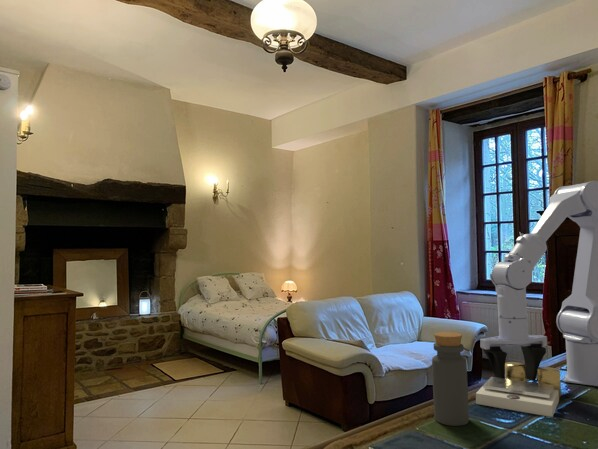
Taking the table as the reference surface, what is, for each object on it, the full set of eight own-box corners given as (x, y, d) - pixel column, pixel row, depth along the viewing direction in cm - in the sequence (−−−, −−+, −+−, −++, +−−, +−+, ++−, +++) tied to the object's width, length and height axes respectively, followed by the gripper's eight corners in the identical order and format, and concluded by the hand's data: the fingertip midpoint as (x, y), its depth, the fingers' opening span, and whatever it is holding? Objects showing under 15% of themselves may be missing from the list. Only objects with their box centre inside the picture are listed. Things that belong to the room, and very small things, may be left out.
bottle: (468, 415, 81) (464, 331, 82) (469, 427, 76) (465, 338, 77) (434, 412, 83) (431, 330, 84) (433, 424, 78) (430, 336, 79)
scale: (488, 389, 95) (488, 379, 95) (559, 400, 88) (558, 389, 88) (476, 403, 87) (475, 392, 87) (552, 417, 80) (551, 404, 80)
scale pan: (491, 379, 95) (491, 376, 95) (554, 388, 88) (554, 385, 88) (483, 388, 89) (483, 385, 89) (549, 398, 83) (549, 395, 83)
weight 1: (507, 384, 99) (506, 361, 99) (528, 387, 97) (526, 363, 97) (503, 388, 96) (502, 365, 96) (524, 392, 94) (523, 367, 94)
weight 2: (540, 390, 95) (539, 366, 95) (562, 393, 92) (560, 368, 92) (537, 395, 91) (536, 370, 92) (560, 398, 89) (558, 373, 89)
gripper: (530, 312, 102) (533, 373, 102) (471, 316, 100) (474, 378, 99) (552, 317, 95) (556, 382, 95) (489, 320, 93) (492, 387, 92)
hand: (515, 381), depth 96 cm, fingers open, 7 cm apart
